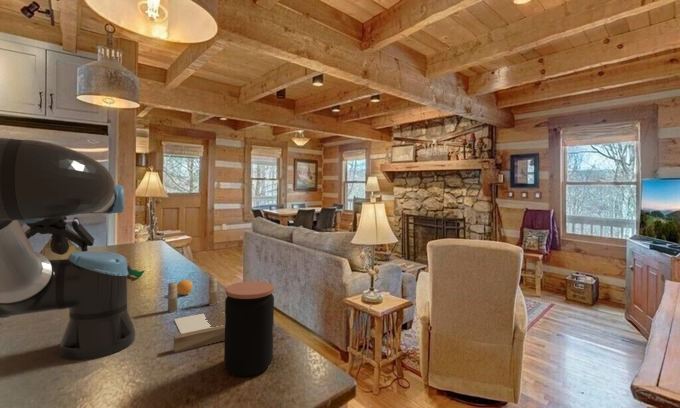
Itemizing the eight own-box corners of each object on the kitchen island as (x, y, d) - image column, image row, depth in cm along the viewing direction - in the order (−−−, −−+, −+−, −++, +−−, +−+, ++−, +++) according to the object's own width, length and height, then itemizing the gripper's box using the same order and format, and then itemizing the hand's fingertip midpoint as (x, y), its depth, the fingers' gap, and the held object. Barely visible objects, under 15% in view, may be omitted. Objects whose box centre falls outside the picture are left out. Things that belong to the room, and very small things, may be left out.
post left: (177, 311, 105) (177, 283, 104) (168, 313, 103) (168, 285, 103) (176, 308, 107) (176, 282, 107) (167, 310, 105) (167, 283, 105)
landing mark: (234, 325, 95) (234, 325, 95) (182, 337, 87) (182, 336, 87) (221, 310, 106) (221, 310, 106) (174, 319, 98) (174, 319, 98)
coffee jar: (282, 365, 74) (283, 287, 74) (240, 385, 66) (241, 298, 66) (255, 349, 81) (256, 278, 81) (215, 365, 73) (216, 286, 73)
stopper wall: (254, 333, 90) (254, 321, 90) (174, 352, 79) (175, 338, 78) (252, 331, 92) (252, 318, 92) (173, 349, 80) (173, 335, 80)
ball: (193, 295, 121) (194, 280, 121) (177, 297, 118) (177, 282, 118) (190, 291, 126) (191, 277, 125) (175, 293, 122) (175, 279, 122)
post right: (217, 304, 112) (218, 278, 112) (209, 305, 111) (210, 279, 110) (215, 302, 114) (216, 277, 114) (208, 303, 113) (208, 278, 112)
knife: (118, 273, 148) (118, 263, 148) (122, 273, 150) (122, 262, 150) (143, 280, 139) (143, 269, 138) (147, 279, 140) (147, 268, 140)
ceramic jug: (35, 289, 123) (35, 210, 122) (87, 283, 132) (87, 210, 131) (28, 302, 110) (27, 213, 108) (86, 294, 119) (86, 213, 118)
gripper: (103, 199, 97) (105, 251, 107) (-15, 195, 84) (1, 254, 95) (99, 215, 91) (102, 268, 102) (-28, 212, 79) (-9, 273, 89)
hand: (53, 261), depth 98 cm, fingers open, 13 cm apart
